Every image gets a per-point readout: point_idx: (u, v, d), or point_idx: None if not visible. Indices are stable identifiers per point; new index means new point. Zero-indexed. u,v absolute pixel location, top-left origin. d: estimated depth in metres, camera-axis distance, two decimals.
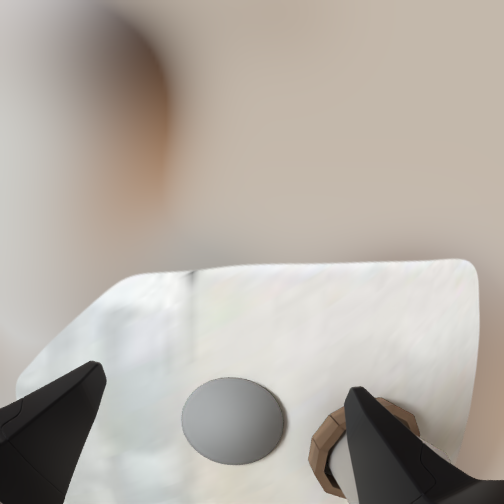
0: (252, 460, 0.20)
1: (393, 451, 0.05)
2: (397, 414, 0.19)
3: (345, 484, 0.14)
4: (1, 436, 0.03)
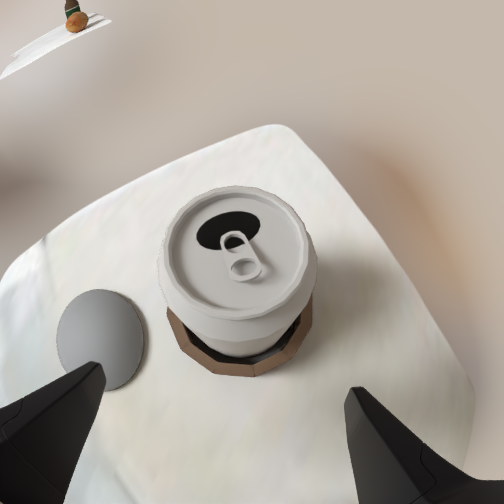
0: (128, 373, 0.19)
1: (393, 451, 0.05)
2: None
3: None
4: (1, 436, 0.03)
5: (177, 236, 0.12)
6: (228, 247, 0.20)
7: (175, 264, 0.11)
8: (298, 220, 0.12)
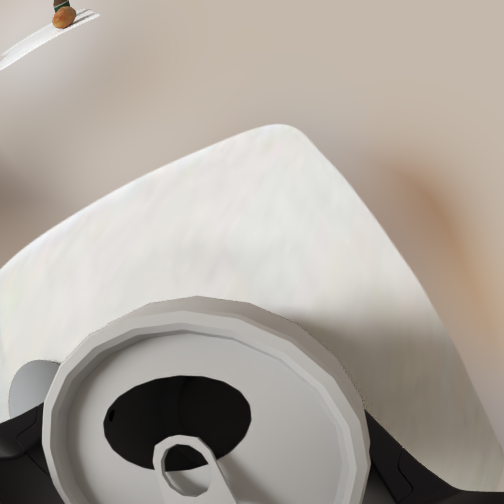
0: None
1: None
2: None
3: None
4: (17, 447, 0.03)
5: (69, 418, 0.04)
6: None
7: (76, 475, 0.03)
8: (350, 414, 0.04)
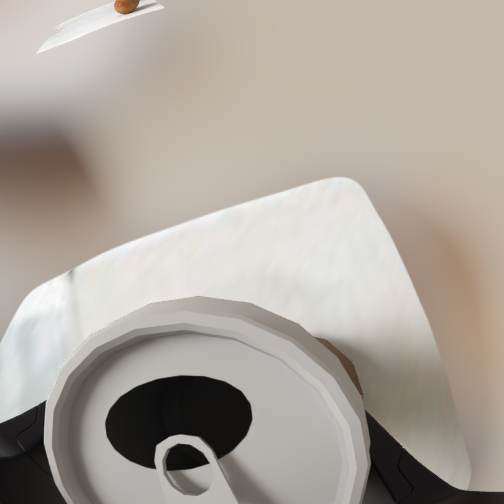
0: None
1: None
2: None
3: None
4: (17, 447, 0.03)
5: (70, 418, 0.04)
6: None
7: (78, 474, 0.03)
8: (351, 414, 0.04)
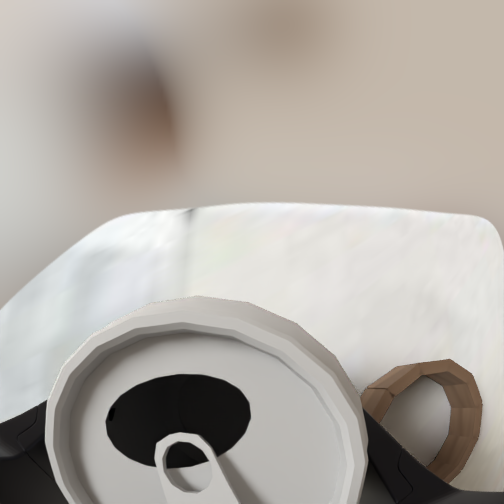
0: None
1: (369, 456, 0.05)
2: (455, 373, 0.13)
3: None
4: (17, 447, 0.03)
5: (71, 416, 0.04)
6: None
7: (79, 473, 0.03)
8: (348, 412, 0.04)
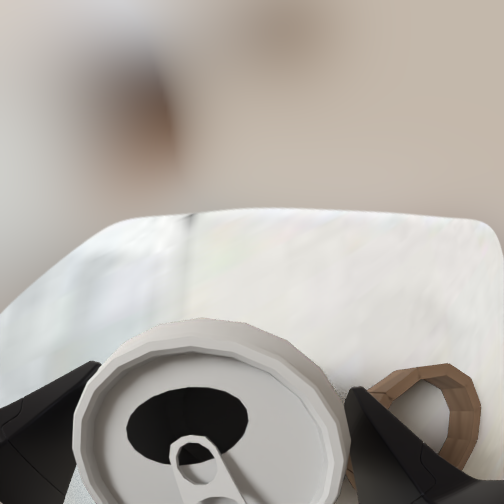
0: None
1: (393, 451, 0.05)
2: (453, 377, 0.13)
3: None
4: (1, 436, 0.03)
5: (95, 425, 0.05)
6: None
7: (102, 473, 0.04)
8: (328, 418, 0.05)
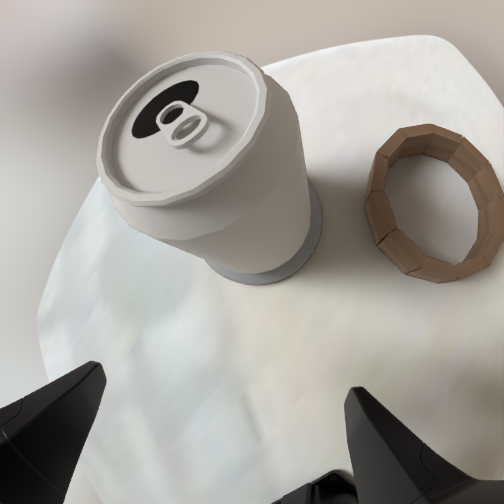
0: (299, 262, 0.18)
1: (393, 451, 0.05)
2: (442, 134, 0.14)
3: None
4: (1, 436, 0.03)
5: (113, 145, 0.09)
6: None
7: (117, 172, 0.08)
8: (239, 57, 0.07)
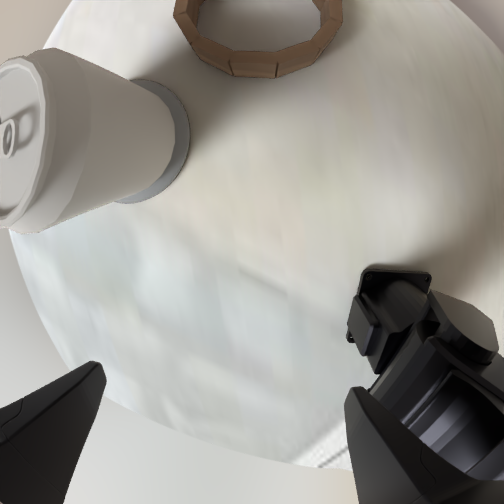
0: (185, 138, 0.17)
1: (393, 451, 0.05)
2: None
3: None
4: (1, 436, 0.03)
5: None
6: None
7: None
8: (3, 64, 0.05)
